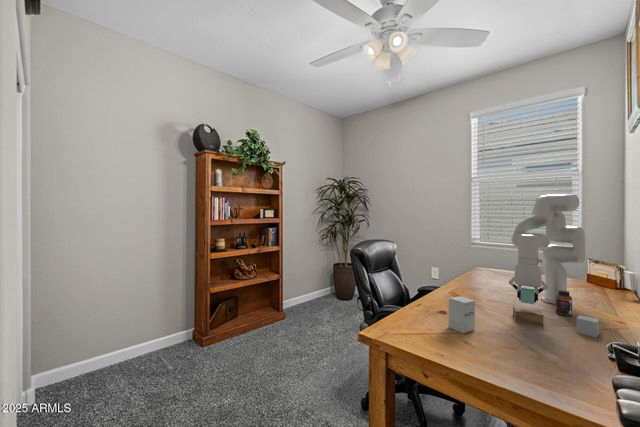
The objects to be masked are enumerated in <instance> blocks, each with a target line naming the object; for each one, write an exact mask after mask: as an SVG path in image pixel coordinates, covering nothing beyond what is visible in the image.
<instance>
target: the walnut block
mask: <svg viewBox="0 0 640 427" xmlns="http://www.w3.org/2000/svg"><path fill="white" fill-rule="evenodd" d="M512 316H513V319H514V320H515V322H516V323H522V324H530V325H537V326H542V327H543V326H544V321H545V320H544V314H543V312H542V311H541V310H540V308H539V307H534V306H533V307H532V306H524V305H517V304H512Z"/></svg>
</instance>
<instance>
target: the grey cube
mask: <svg viewBox="0 0 640 427" xmlns="http://www.w3.org/2000/svg"><path fill="white" fill-rule="evenodd" d="M575 328H576V330H575V331H576V333H578V334H581V335H584V336H585V335H586V336H590V337H594V338H598V336H599V335H600V318H596V317H591V316H587V315H586V316H585V315H583V314H579V315H577V317H576V327H575Z"/></svg>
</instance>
